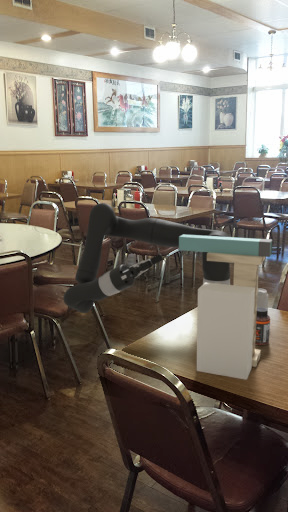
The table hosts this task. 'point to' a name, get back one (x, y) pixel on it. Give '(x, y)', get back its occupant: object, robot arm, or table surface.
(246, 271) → the beige wooden column stand
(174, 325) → the table surface
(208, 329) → the base pedestal
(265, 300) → the can
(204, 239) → the teal bar
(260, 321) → the supplement bottle
